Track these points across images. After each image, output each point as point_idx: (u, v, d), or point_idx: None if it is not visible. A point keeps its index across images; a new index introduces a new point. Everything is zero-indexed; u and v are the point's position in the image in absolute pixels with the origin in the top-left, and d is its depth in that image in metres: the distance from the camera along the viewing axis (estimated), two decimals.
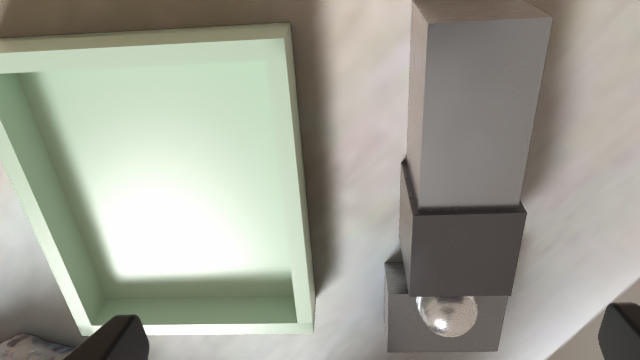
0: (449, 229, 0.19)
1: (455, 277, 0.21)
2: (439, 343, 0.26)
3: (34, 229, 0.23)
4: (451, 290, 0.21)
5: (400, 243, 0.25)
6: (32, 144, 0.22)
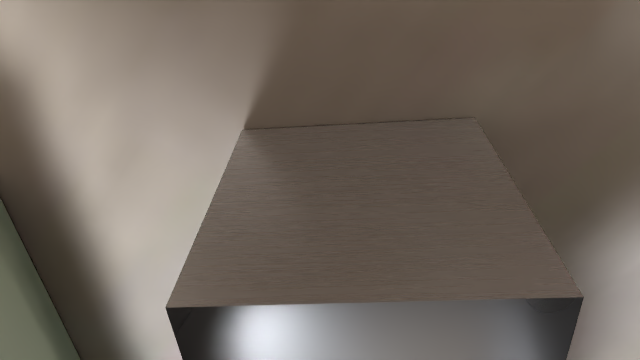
0: None
1: None
2: None
3: None
4: None
5: None
6: None
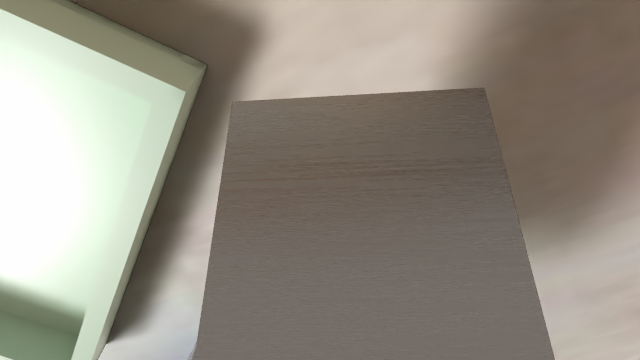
0: None
1: None
2: None
3: None
4: None
5: None
6: None
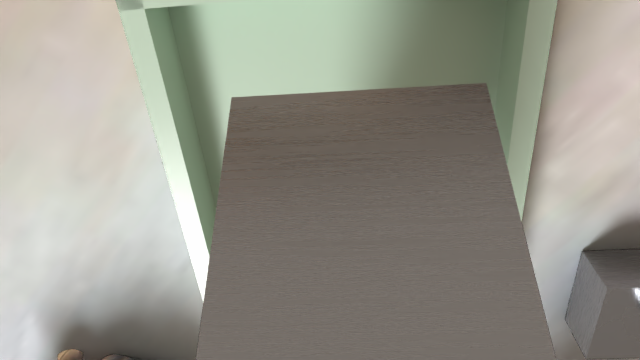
0: None
1: None
2: None
3: (180, 215, 0.18)
4: None
5: None
6: (183, 107, 0.17)
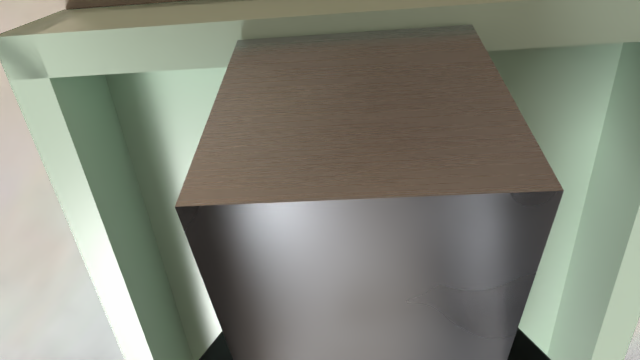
0: None
1: None
2: None
3: (125, 355, 0.13)
4: None
5: None
6: (128, 207, 0.12)
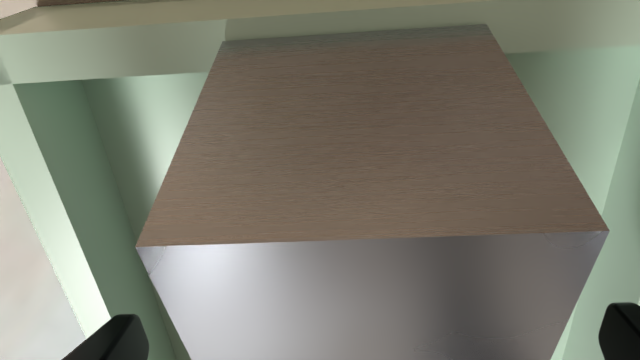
0: None
1: None
2: None
3: None
4: None
5: None
6: (109, 221, 0.11)
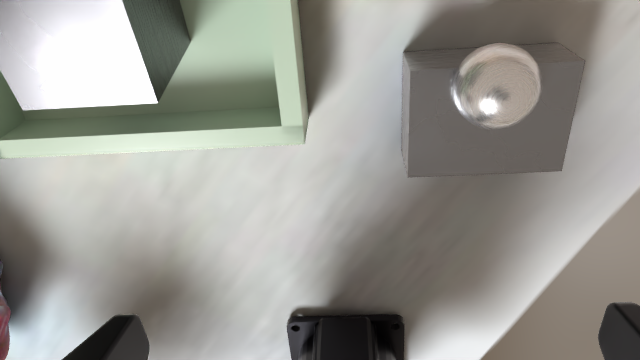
0: None
1: (67, 75, 0.14)
2: (481, 158, 0.19)
3: None
4: (73, 97, 0.15)
5: None
6: None
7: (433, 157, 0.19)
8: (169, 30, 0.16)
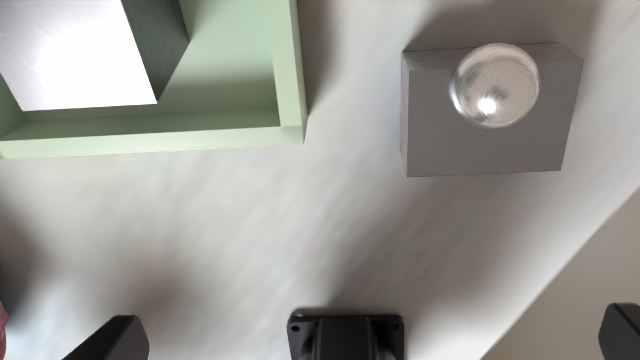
0: None
1: (66, 76, 0.15)
2: (480, 158, 0.19)
3: None
4: (72, 98, 0.15)
5: None
6: None
7: (432, 157, 0.19)
8: (168, 30, 0.16)
